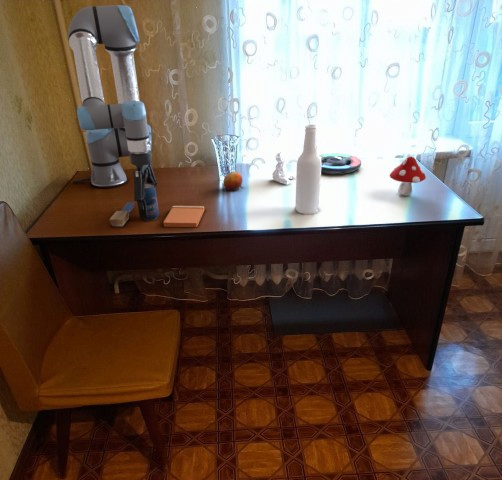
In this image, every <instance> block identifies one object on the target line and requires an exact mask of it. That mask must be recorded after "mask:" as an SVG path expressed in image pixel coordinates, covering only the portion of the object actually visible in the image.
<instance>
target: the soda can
mask: <svg viewBox="0 0 502 480" xmlns="http://www.w3.org/2000/svg"><path fill="white" fill-rule="evenodd" d="M144 200H145V202H146V209H147V215H148V218H142V220H143V221H155V220H157V219H158V217H159V215H160V210H159V203H158V195H157V190H156V187H155V188H154V185H153V184H151V183H147V182H145V191H144Z"/></svg>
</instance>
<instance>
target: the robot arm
mask: <svg viewBox="0 0 502 480" xmlns="http://www.w3.org/2000/svg"><path fill="white" fill-rule="evenodd" d="M137 27H138V26H137V23H136V19H135V16H134V13H133V9H132V8H131V7H130V6H129V5H123V4H122V5H121V4H111V5H110V4H109V5H96V6H95V5H93V6H92V5H89V6H85V7H82V8H81V9H79V10H78V11H77V12H76V13H75V14H74V16H73V17H72V19H71V20H70V24H69V26H68V32H67V40H68V45H69V48H70V49H71V51H73V57H74V63H75V70H76V75H77V81H78V88H79V95H80V101H81V106H77V108H76V114H77V120H78V124H79V127H80V129H81V130H83V131H86V132H85V139H86V145H87V149H88V152H89V157H90V162H91V173H90V177H86V178H82V179H78V180H73V181H72V182H73V184H78V183H82V182H87V181H90V182H91V186H93V187H95V188H99V189H112V188H117V187H121V186H123V185H125V184H126V183H127V182H128V178H127V175H126V173H125V171H124V169H123V166H122V165H121V162H120V158H124V157H129V162H130V164H131V165H133V166H135V170H133V172H132V173H133V197H134V198H133V202H137V203H136V204H137V208H138V209H137V210H138V214H139V215H138V216H139V219H143V218H148V215H147V209H146V202H145V200H144V191H145V183H151V184H153V185H154V188H155V189H156V187H157V186H158V182H157V179H156V175H155V172H154V169H153V166H152V162H153V155H152V145H153V144H152V127H151V126H150V124H148V119H147V110H146V107H145V103H144V102H143V101H142V100H140V93H139V86H138V78H137V71H136V65H135V64H136V63H135V57H134V52H135V51H136V50H137V44H138V43H140V36H139V31H138V28H137ZM98 45H104V50H105V51H106V52H107V53H108V54H109V55H110V61H111V67H112V73H113V79H114V85H115V86H114V87H115V92H116V97H117V102H118V103H113V104H111V103H110V104H105V97H104V92H103V86H102V81H101V77H100V76H101V75H100V70H99V64H98V63H99V62H98V58H97V53H96V50H97V48H98Z"/></svg>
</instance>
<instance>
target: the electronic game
mask: <svg viewBox="0 0 502 480" xmlns="http://www.w3.org/2000/svg"><path fill="white" fill-rule="evenodd" d="M318 155H319V157H320V158H321V163H322V166H321V173H324V174H328V175H329V174H331V175H344V174H349V173H352V172H355V171H356V170H358V169H359V168H360V167H361V166H362V161H361V160H360V159H359V158H358V157H357V156H354V155H350V154H346V153H345V154H344V153H323V154H318Z"/></svg>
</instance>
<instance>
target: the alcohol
mask: <svg viewBox="0 0 502 480" xmlns="http://www.w3.org/2000/svg"><path fill="white" fill-rule="evenodd" d="M317 129H318V126H317V125H316V124H306V125H305V129H304V139H303V140H304V141H303V143H304V144H303V151H302V153H301V154H300V155H299V157H298V158H297V162H296V179H295V180H296V181H295V210H296V212H298V213H299V214H302V215H303V214H304V215H311V214H312V215H313V214H315V213H317V212H318V211H319V209H320V194H321V178H322V172H321V166H322V163H321V158H320V157H319V155H320V154H319V153H318V151H317V150H318V149H317V131H318V130H317Z"/></svg>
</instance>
